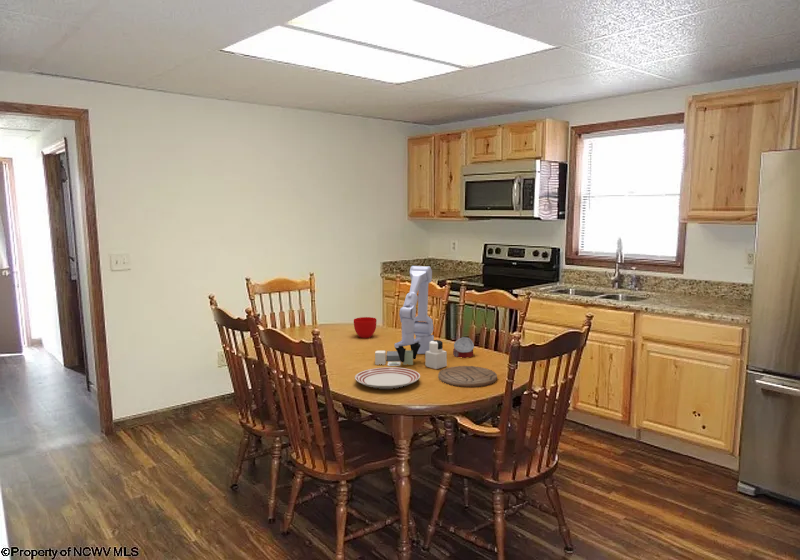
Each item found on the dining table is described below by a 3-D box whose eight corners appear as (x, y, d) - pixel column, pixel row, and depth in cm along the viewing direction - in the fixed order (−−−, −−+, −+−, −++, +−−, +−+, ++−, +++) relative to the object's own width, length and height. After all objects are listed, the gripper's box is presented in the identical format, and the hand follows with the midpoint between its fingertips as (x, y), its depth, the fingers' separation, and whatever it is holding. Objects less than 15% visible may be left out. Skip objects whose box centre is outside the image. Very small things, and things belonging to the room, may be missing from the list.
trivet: (474, 367, 254) (474, 363, 254) (509, 382, 232) (509, 377, 232) (427, 375, 243) (427, 371, 242) (458, 391, 221) (458, 387, 220)
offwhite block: (385, 362, 263) (385, 350, 262) (385, 364, 258) (384, 353, 257) (376, 362, 263) (375, 350, 262) (375, 364, 258) (375, 353, 258)
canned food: (473, 363, 275) (482, 347, 271) (460, 365, 268) (469, 349, 264) (458, 349, 281) (466, 333, 278) (445, 351, 274) (453, 335, 270)
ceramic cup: (381, 333, 322) (380, 316, 321) (373, 339, 306) (372, 322, 304) (359, 332, 325) (359, 315, 324) (350, 338, 309) (350, 321, 307)
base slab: (403, 357, 272) (403, 351, 272) (403, 361, 264) (403, 355, 264) (387, 357, 272) (387, 351, 272) (386, 361, 264) (386, 355, 264)
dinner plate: (347, 377, 240) (346, 370, 240) (405, 370, 250) (405, 362, 250) (367, 397, 215) (366, 389, 214) (430, 388, 225) (430, 380, 225)
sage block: (413, 361, 262) (412, 350, 261) (412, 364, 258) (412, 352, 257) (403, 361, 262) (403, 350, 262) (403, 364, 258) (402, 352, 257)
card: (400, 362, 262) (400, 361, 262) (400, 365, 256) (400, 365, 256) (388, 362, 262) (388, 361, 262) (387, 365, 256) (387, 365, 256)
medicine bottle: (435, 363, 260) (435, 338, 258) (447, 366, 255) (447, 340, 253) (425, 366, 255) (424, 341, 253) (436, 369, 250) (436, 343, 248)
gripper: (414, 328, 266) (414, 355, 267) (390, 332, 257) (390, 361, 258) (423, 330, 260) (423, 358, 262) (399, 335, 251) (400, 364, 253)
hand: (408, 360), depth 260 cm, fingers closed on sage block, 6 cm apart
